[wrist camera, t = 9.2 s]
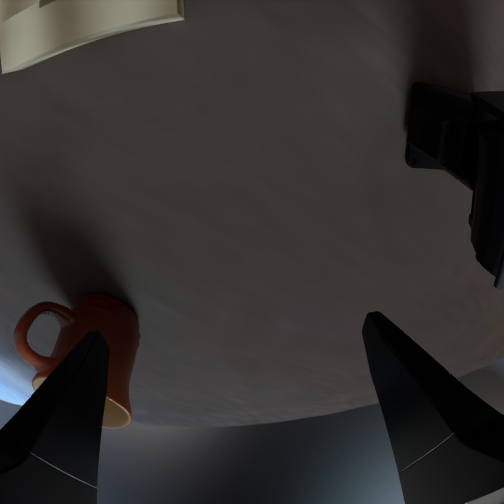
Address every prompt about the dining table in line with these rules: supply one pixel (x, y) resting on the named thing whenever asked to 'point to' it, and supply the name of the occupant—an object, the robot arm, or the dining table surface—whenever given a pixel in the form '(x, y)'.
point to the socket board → (72, 25)
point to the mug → (73, 330)
